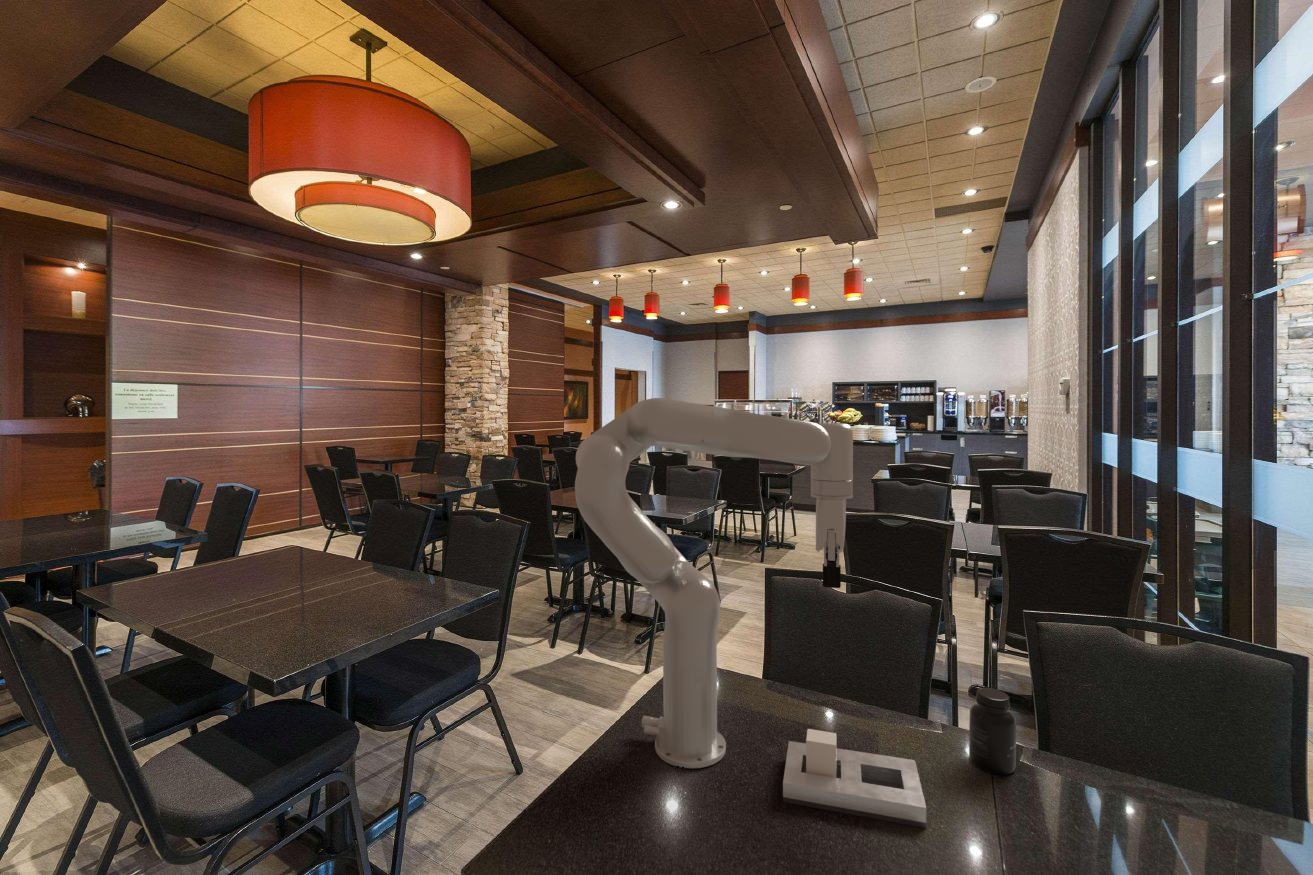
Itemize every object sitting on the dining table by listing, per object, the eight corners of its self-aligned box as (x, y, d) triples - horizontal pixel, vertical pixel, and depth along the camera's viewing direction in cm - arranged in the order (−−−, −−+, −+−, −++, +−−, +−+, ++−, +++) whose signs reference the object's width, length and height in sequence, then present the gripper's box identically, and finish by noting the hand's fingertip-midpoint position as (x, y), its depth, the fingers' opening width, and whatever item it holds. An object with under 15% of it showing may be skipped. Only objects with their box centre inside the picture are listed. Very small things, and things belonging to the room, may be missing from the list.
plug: (806, 783, 91) (806, 740, 91) (807, 770, 94) (807, 728, 94) (836, 789, 89) (836, 745, 89) (836, 775, 93) (836, 733, 93)
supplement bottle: (1023, 778, 93) (1023, 705, 93) (977, 773, 94) (977, 701, 94) (1006, 754, 100) (1006, 686, 100) (963, 750, 101) (964, 682, 101)
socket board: (783, 801, 88) (783, 782, 88) (788, 757, 99) (788, 740, 99) (926, 828, 82) (926, 807, 82) (914, 778, 93) (914, 759, 93)
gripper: (812, 484, 116) (812, 574, 116) (809, 493, 101) (809, 596, 102) (851, 485, 113) (851, 577, 114) (854, 494, 99) (854, 600, 100)
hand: (831, 586), depth 108 cm, fingers closed
